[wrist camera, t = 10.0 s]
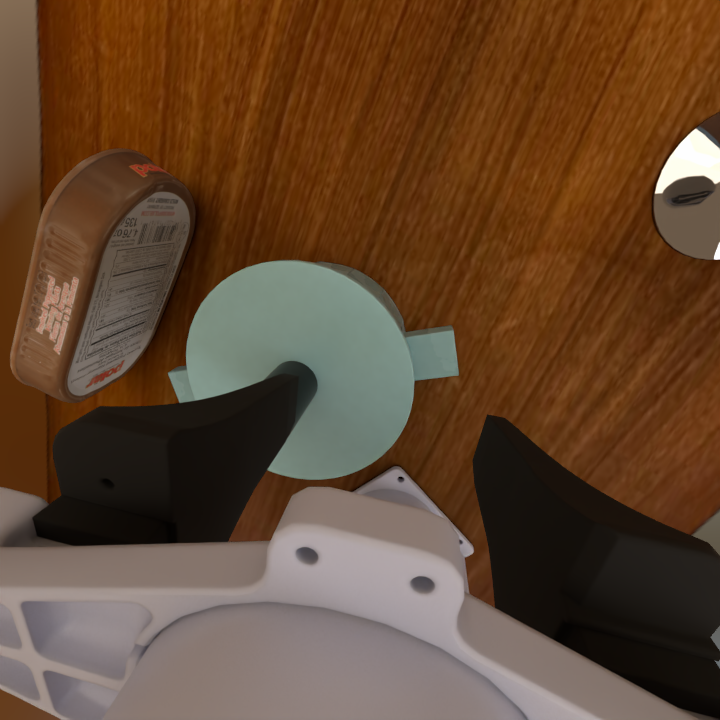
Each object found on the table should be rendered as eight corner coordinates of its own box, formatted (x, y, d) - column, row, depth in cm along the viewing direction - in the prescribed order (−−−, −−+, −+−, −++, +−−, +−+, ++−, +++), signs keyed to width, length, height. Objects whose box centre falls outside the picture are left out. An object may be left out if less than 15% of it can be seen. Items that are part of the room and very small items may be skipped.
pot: (458, 403, 24) (469, 455, 19) (242, 426, 27) (198, 475, 22) (437, 236, 21) (443, 240, 15) (195, 286, 24) (128, 304, 19)
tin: (178, 160, 21) (40, 121, 14) (223, 190, 22) (112, 168, 14) (112, 353, 27) (-13, 404, 19) (148, 375, 27) (39, 434, 19)
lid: (429, 460, 20) (432, 533, 15) (236, 474, 22) (186, 540, 18) (393, 234, 16) (381, 237, 11) (166, 283, 19) (79, 301, 14)
